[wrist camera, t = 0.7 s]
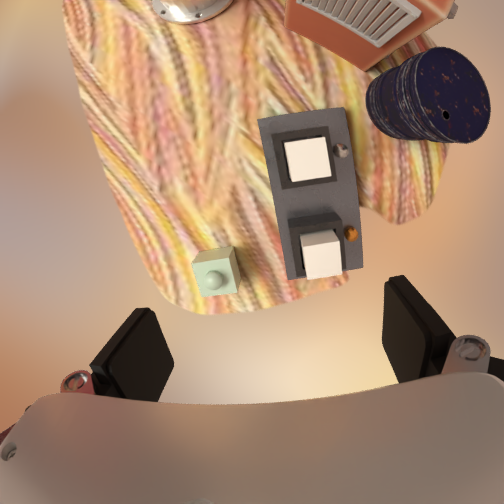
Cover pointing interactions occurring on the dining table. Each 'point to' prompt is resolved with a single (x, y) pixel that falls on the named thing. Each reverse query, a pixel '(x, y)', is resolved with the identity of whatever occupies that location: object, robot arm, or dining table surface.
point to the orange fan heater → (365, 24)
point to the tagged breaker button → (321, 254)
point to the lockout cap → (217, 271)
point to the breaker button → (307, 159)
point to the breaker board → (314, 186)
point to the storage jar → (431, 99)
